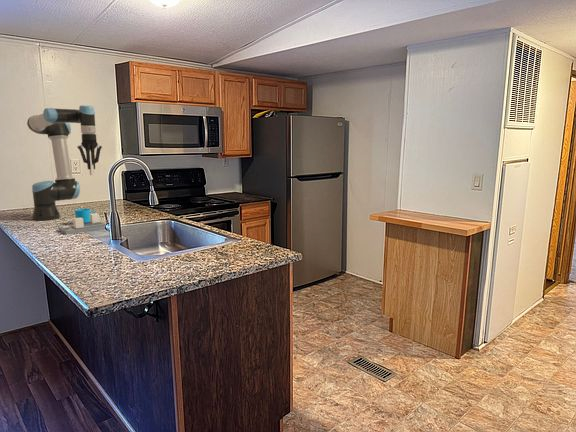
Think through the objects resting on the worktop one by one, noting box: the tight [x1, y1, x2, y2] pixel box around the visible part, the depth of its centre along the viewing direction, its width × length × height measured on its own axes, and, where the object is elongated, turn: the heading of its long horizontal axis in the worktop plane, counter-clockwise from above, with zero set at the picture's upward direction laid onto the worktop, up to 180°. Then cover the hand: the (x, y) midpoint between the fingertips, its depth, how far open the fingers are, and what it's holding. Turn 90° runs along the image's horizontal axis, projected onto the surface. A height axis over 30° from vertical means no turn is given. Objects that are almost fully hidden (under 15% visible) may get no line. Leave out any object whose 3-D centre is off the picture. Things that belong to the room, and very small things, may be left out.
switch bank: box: [57, 220, 107, 236], centre depth 229 cm, size 14×26×2 cm, turn 134°
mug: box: [74, 208, 97, 223], centre depth 245 cm, size 12×8×8 cm
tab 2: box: [89, 212, 101, 223], centre depth 235 cm, size 4×4×5 cm
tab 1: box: [72, 217, 84, 228], centre depth 221 cm, size 4×4×5 cm
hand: (92, 174), depth 236 cm, fingers closed
